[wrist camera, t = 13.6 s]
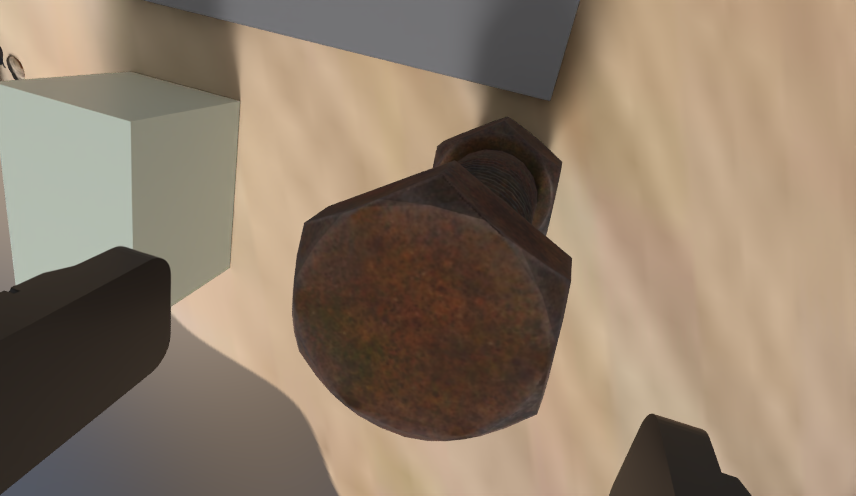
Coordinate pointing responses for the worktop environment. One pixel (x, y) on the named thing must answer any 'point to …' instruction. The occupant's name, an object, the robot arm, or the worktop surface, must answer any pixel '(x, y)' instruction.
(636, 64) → the worktop surface
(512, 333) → the bolt
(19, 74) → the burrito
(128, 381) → the robot arm
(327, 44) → the board
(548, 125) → the worktop surface
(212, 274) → the pale green block
